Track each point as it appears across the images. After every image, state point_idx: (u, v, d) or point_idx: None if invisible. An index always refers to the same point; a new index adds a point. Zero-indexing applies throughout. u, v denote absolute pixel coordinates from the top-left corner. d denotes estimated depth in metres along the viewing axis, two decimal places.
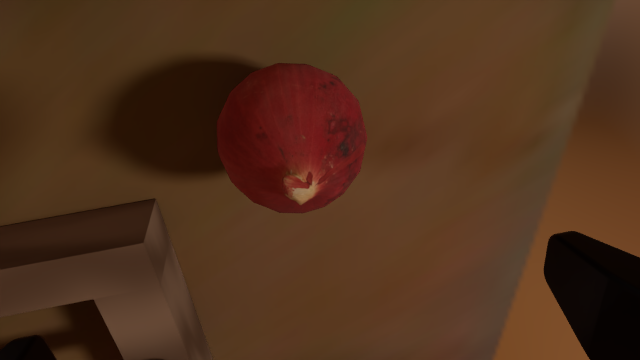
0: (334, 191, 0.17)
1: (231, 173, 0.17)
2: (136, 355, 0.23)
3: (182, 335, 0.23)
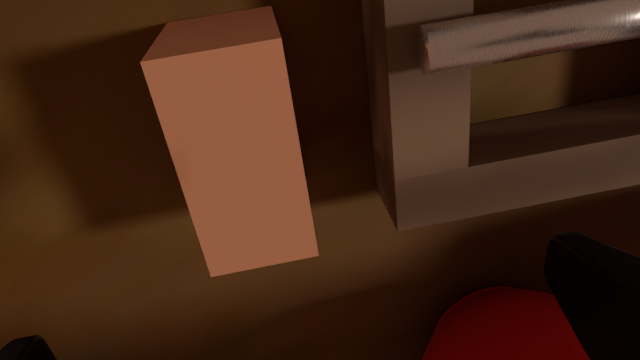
0: None
1: None
2: None
3: None
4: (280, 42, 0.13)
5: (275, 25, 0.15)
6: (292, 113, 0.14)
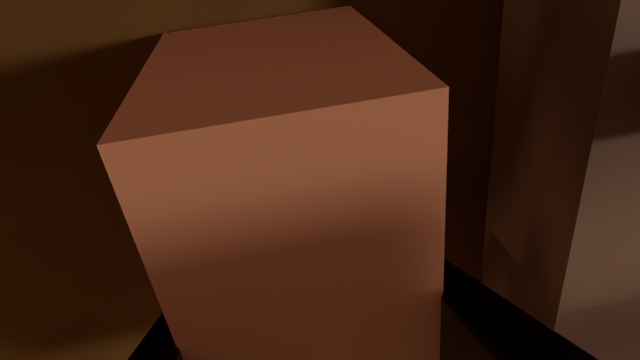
0: None
1: None
2: None
3: None
4: (443, 97, 0.06)
5: (399, 49, 0.07)
6: (440, 244, 0.07)
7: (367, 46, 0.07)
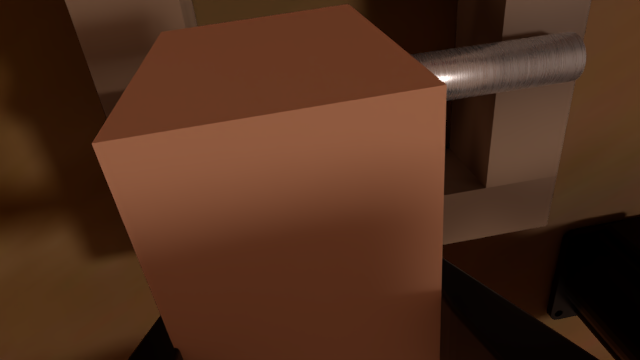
0: None
1: None
2: (522, 20, 0.15)
3: None
4: (441, 94, 0.05)
5: (396, 47, 0.07)
6: (437, 243, 0.07)
7: (365, 44, 0.07)
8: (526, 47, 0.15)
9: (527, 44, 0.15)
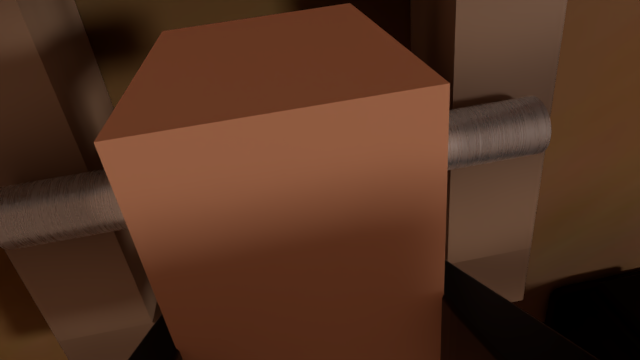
0: None
1: None
2: (476, 82, 0.13)
3: None
4: (444, 93, 0.05)
5: (399, 45, 0.07)
6: (440, 242, 0.07)
7: (367, 43, 0.07)
8: (477, 119, 0.12)
9: (479, 115, 0.12)
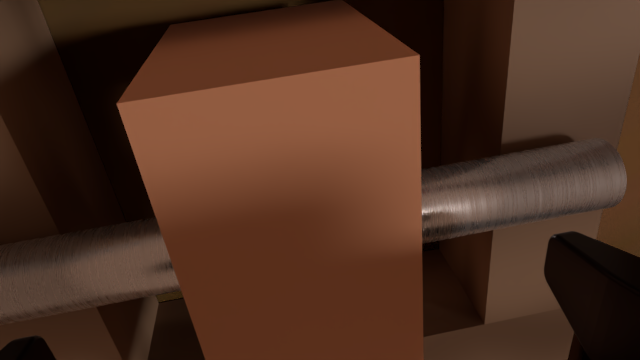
0: None
1: None
2: (530, 121, 0.11)
3: None
4: (415, 64, 0.06)
5: (380, 30, 0.08)
6: (417, 200, 0.07)
7: (353, 29, 0.08)
8: (536, 170, 0.10)
9: (538, 164, 0.10)
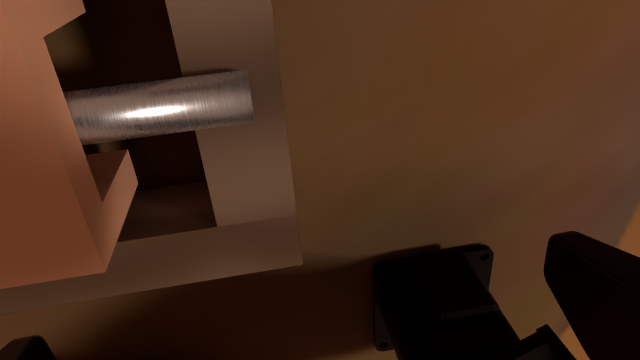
0: None
1: None
2: (200, 56, 0.14)
3: None
4: None
5: None
6: (30, 85, 0.11)
7: None
8: (184, 87, 0.14)
9: (187, 84, 0.14)
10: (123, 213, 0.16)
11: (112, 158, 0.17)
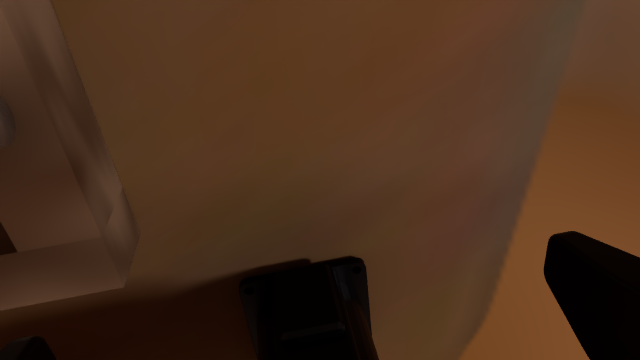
0: None
1: None
2: None
3: (26, 52, 0.14)
4: None
5: None
6: None
7: None
8: None
9: None
10: None
11: None
